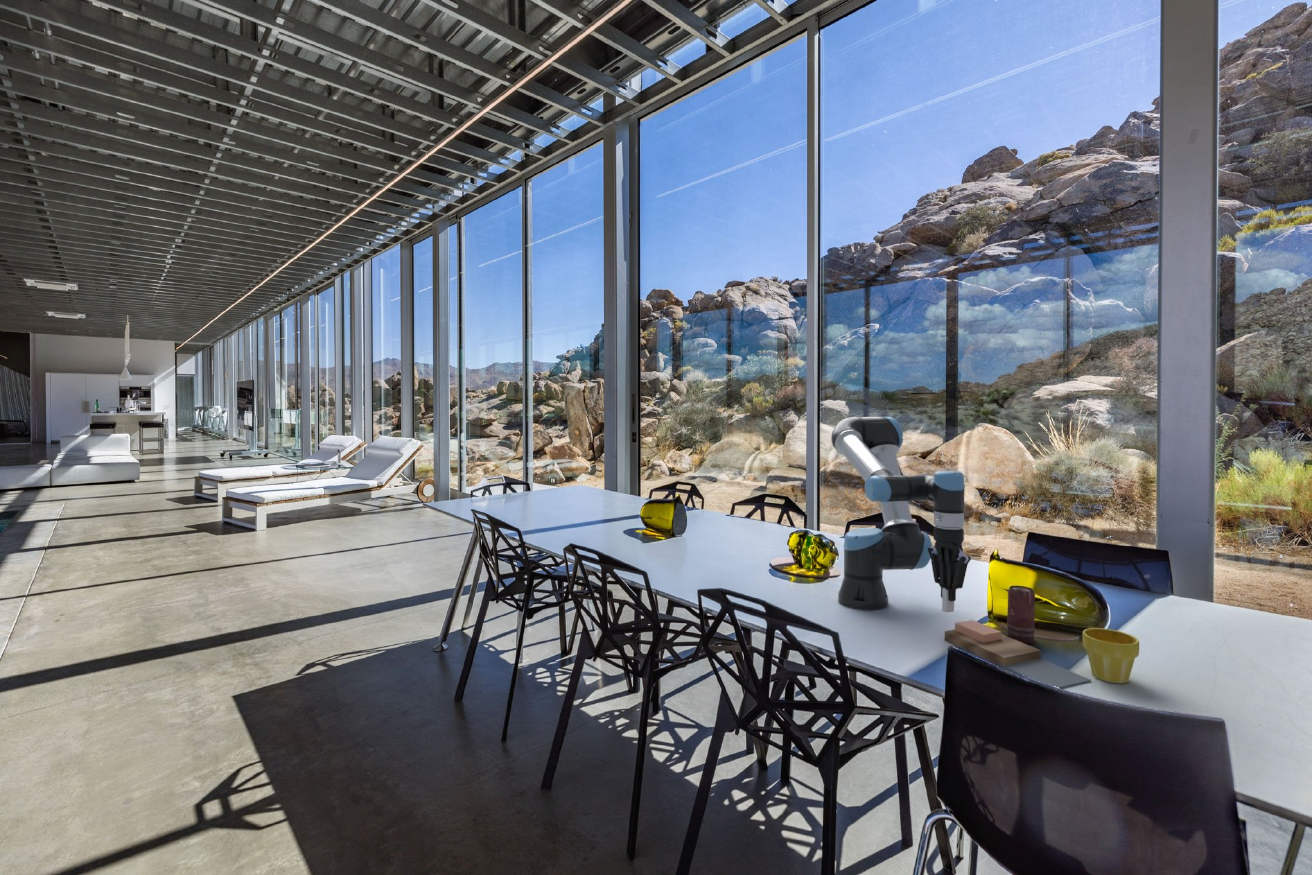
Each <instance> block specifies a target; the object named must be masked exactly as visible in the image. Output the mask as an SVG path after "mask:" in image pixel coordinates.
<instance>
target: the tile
mask: <svg viewBox="0 0 1312 875" xmlns="http://www.w3.org/2000/svg"><path fill="white" fill-rule="evenodd" d="M954 629H955V630H956V631H958V632H960V633H962V634H965V635H967V636H969V637H972V638H974V639H976V640H979V641H981V642H983V643H984V642H990V641H995V640H1001V634H1002V631H1001V630H998V629H996V628H993V627H991V626H988V625H985V624H983V623H980V622H978V621H975V620H974V619H973V620H972V619H970V620H964V621H958V622H955V623H954Z"/></svg>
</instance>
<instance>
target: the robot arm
mask: <svg viewBox="0 0 1312 875" xmlns="http://www.w3.org/2000/svg"><path fill="white" fill-rule="evenodd" d="M903 437H904V432H903V428H902V426H901V424H900V422H899V421H898V420H897V419H896V418H893V417H891V416H885V415H884V416H883V415H881V416H851V417H846V418H844V419H842V420H840V421H839V422H838V423H837V424H835V426H834V428H833V430H832V433H831V438H830V439H831V443H832V446H833V448H834V449H835V451H836V452H837V453H838V454H839V455H842V456H844V457H845V458H846V460H848V462H849V463H850V464H851V466H852V467H853V468H854V469H855V470H856V472H857V473H858V474H859V476H861V478H862V479H863V481H864V493H865V495H866V498H867V499H868V501H870V502H877V503H879V506H880V508H881V514H882V518H883V523H884V525H883V527H882V528H881V529H880V528H877V527H860V528H855V529H851V530H848V532H846V533H845V535H844V543H843V580H842V581H841V586H840V587H839V588H840V589H839V591H838V592H837V593H838V596H837V597H838V598H837V601H838V602H839V603H840V604H842V605H843V606H846V607H848V608H852V609H857V610H865V611H873V610H877V611H878V610H882V609H885V608H887V607H888V606H889V596H888V593H887V590H886V586H885V584H884V580H883V571H887V570H888V571H889V570H890V571H893V570H896V571H897V570H911V571H912V570H917V569H918V570H919V569H923V568H925V567H927V566H928V564H929V563H931V569H932V574H933V580H934V583H935V584H938V585H939V587H940V598H941V599H942V600H941V603H942V604H941V605H942V606H941V609H942V611H941V612H944V613H946V614H947V613H952V612H955V601H956V600H957V590H958V589H963V586H964V584H965V583H964V581H965V577H966V574H967V569H968V565H969V563H970V562H971V560H972V557H971V556H970V555H966V554H965V552H964V548H963V546H962V544H963V543H964V541H965V530H964V527H965V488H966V485H965V477H964V476H965V475H964V473H963V472H961V471H957V470H936V471H935V472H934V474H930V473H919V474H915V475H914V474H913V475H911V474H910V475H909V474H908V475H905V474H904V475H901V469H900V465H899V461H898V458H897V454H898V453H899V452H900V448H901V447H902V445H903V442H904V438H903ZM925 501H926V502H932V503H933V524H934V527H933V540H934V541H935V543H934V546H933V544H932V539H931V537H930V535H929V534H928V533H927V532H925V531H921V529H920V526H919V523H917V522H916V521H914V520H913V517H912V514H911V513H912V512H911V509H910V505H909V502H925Z"/></svg>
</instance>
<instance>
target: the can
mask: <svg viewBox="0 0 1312 875" xmlns="http://www.w3.org/2000/svg"><path fill="white" fill-rule="evenodd" d="M1035 604H1036V593H1035V591H1034V589H1033V588H1031V587H1028V586H1024V585H1010V586H1009V588H1008V590H1007V620H1006V621H1007V622H1006V626H1007V627H1006V628H1007V630H1006V636H1007V637H1009V638H1012V639H1014V640H1017V641H1019V642H1022V643H1024V644H1027V645H1029V644H1032V643H1034V641H1035V621H1036V620H1035V618H1036V617H1035V615H1036V612H1035V611H1036V610H1035V609H1036V607H1035V606H1036V605H1035Z"/></svg>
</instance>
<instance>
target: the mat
mask: <svg viewBox="0 0 1312 875" xmlns="http://www.w3.org/2000/svg"><path fill="white" fill-rule="evenodd" d="M1004 669H1006V670H1008V671H1010V672H1011V673H1014V672H1015V674H1017V675H1019V676H1021V675H1024V676H1025V677H1029V678H1031V679H1034V680H1036V681H1040V682H1041V683H1045V684H1050V685H1051V686H1056V687H1059V688H1061V689H1064V688H1069V687H1073V686H1078V685H1082V684H1086V683H1090V682H1092V679H1091V678H1088V677H1085V676H1083V675H1080V674H1079V673H1077V672H1074V671H1071V670H1069V669H1066V668H1064V667H1061V666H1059V665H1057V664H1055V663H1052V662H1049V661H1047V660H1044V659H1042V658H1041V659H1037V660H1032V661H1027V662H1023V663H1018V664H1013V665H1008V666H1004ZM1025 677H1024V678H1025Z"/></svg>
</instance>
